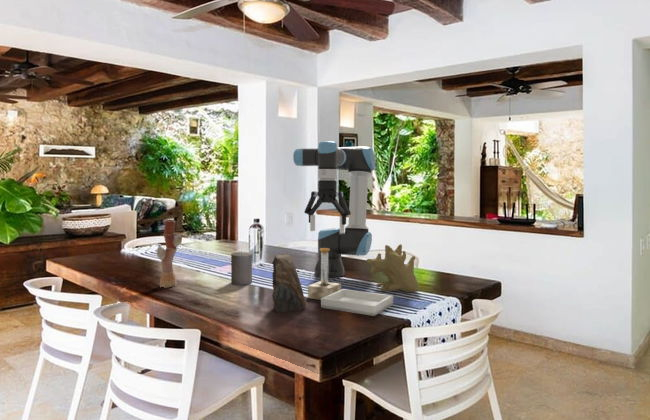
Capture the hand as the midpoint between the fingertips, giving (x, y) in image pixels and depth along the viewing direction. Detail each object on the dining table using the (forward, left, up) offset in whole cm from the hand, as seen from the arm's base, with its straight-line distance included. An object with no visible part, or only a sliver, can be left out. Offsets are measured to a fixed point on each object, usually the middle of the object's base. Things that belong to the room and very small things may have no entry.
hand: (327, 231), depth 198 cm
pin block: (-1, -1, -27) cm, 27 cm away
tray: (+17, -7, -27) cm, 33 cm away
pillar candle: (-47, +2, -27) cm, 54 cm away
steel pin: (-1, -1, -27) cm, 27 cm away
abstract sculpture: (-70, -20, -27) cm, 77 cm away
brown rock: (-4, -23, -27) cm, 35 cm away
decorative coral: (+18, +27, -27) cm, 43 cm away
